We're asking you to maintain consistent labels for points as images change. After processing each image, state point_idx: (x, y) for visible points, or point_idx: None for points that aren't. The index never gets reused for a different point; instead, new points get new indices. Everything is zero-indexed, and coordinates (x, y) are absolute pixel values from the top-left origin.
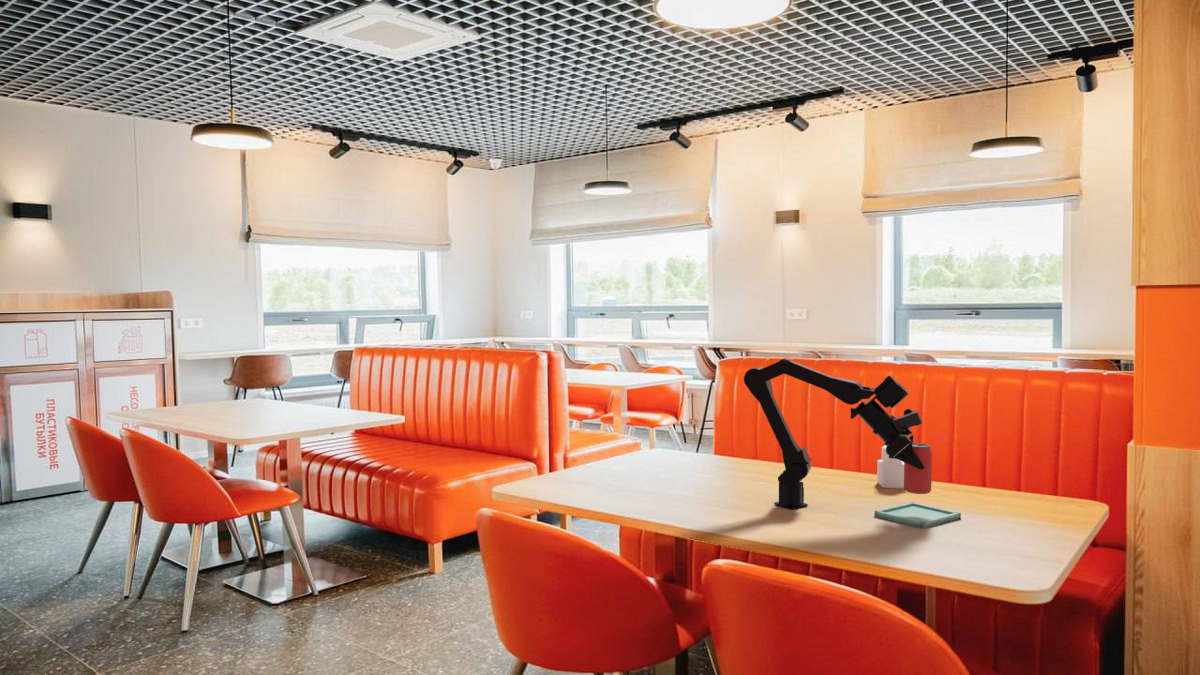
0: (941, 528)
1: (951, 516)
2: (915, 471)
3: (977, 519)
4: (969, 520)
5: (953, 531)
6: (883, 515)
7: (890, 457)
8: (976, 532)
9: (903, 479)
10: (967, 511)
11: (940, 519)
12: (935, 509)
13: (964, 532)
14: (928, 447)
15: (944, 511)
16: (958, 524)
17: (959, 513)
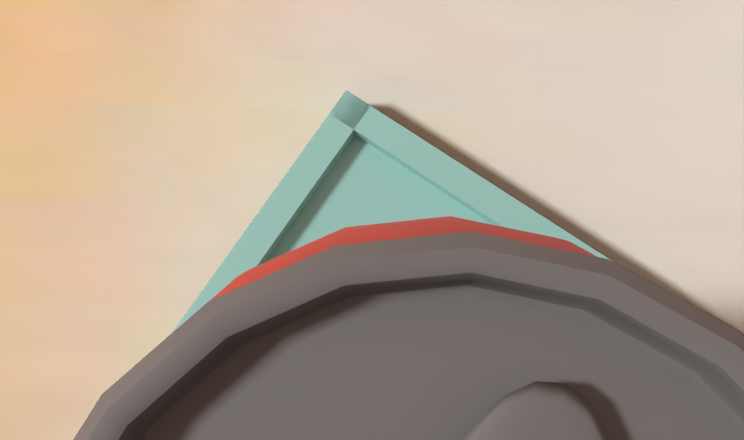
0: (682, 237)
1: (446, 157)
2: None
3: (334, 4)
4: (380, 52)
5: (730, 162)
6: None
7: None
8: (690, 25)
9: None
10: (126, 54)
11: (567, 236)
12: (261, 263)
13: (725, 96)
14: (671, 299)
15: (305, 200)
16: (520, 124)
17: (359, 99)
